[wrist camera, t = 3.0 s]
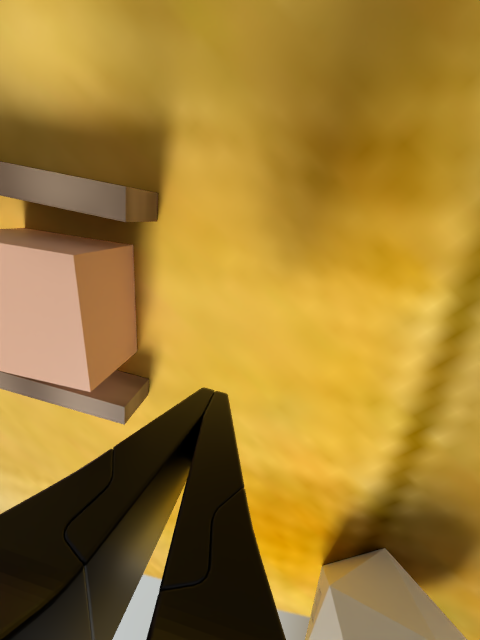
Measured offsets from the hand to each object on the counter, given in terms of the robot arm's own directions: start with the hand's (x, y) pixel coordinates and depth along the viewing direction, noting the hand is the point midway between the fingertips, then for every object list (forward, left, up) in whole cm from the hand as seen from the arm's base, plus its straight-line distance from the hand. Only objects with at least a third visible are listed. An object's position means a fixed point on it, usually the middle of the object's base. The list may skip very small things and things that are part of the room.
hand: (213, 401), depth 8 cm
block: (-9, 0, -6) cm, 11 cm away
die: (+12, -16, -6) cm, 21 cm away
